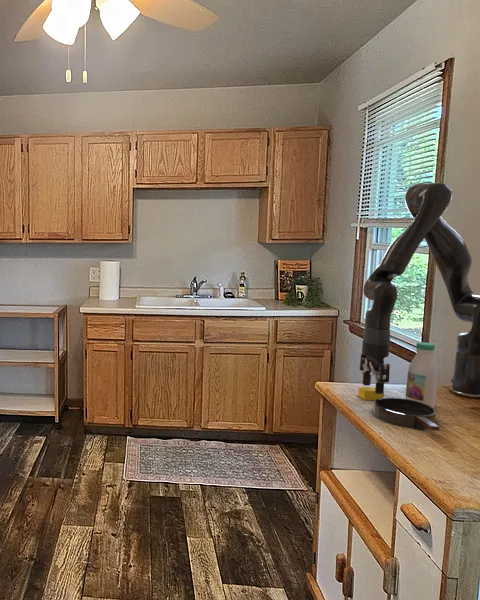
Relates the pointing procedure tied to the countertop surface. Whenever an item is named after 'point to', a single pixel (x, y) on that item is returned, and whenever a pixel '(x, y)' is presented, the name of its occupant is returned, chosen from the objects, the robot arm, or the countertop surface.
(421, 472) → the countertop surface
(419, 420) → the pan handle
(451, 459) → the countertop surface
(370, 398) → the sponge
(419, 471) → the countertop surface
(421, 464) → the countertop surface
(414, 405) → the pan
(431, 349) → the milk bottle
